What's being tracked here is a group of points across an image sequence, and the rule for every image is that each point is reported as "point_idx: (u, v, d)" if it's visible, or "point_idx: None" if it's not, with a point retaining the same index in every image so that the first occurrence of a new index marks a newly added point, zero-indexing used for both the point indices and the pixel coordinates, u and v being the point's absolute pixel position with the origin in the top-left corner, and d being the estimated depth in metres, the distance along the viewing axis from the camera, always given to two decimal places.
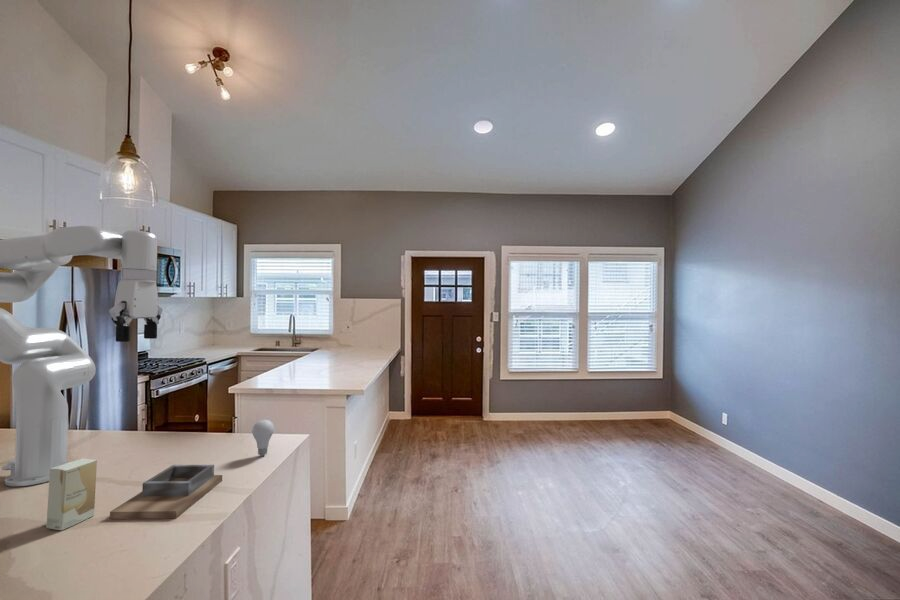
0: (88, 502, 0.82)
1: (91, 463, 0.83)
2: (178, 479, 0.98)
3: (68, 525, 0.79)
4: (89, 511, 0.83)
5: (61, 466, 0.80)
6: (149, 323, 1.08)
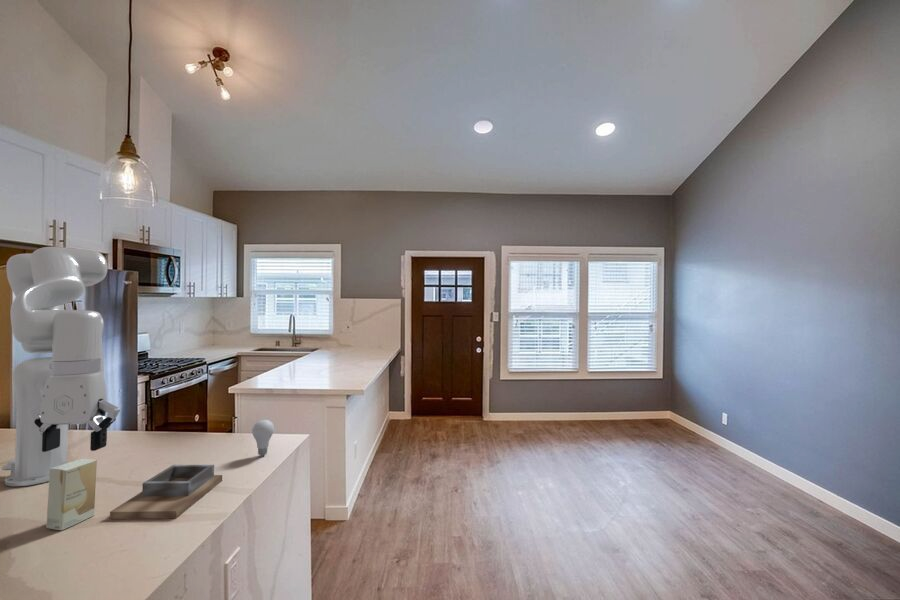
0: (88, 502, 0.82)
1: (91, 463, 0.83)
2: (178, 479, 0.98)
3: (68, 525, 0.79)
4: (89, 511, 0.83)
5: (61, 466, 0.80)
6: (51, 429, 0.81)
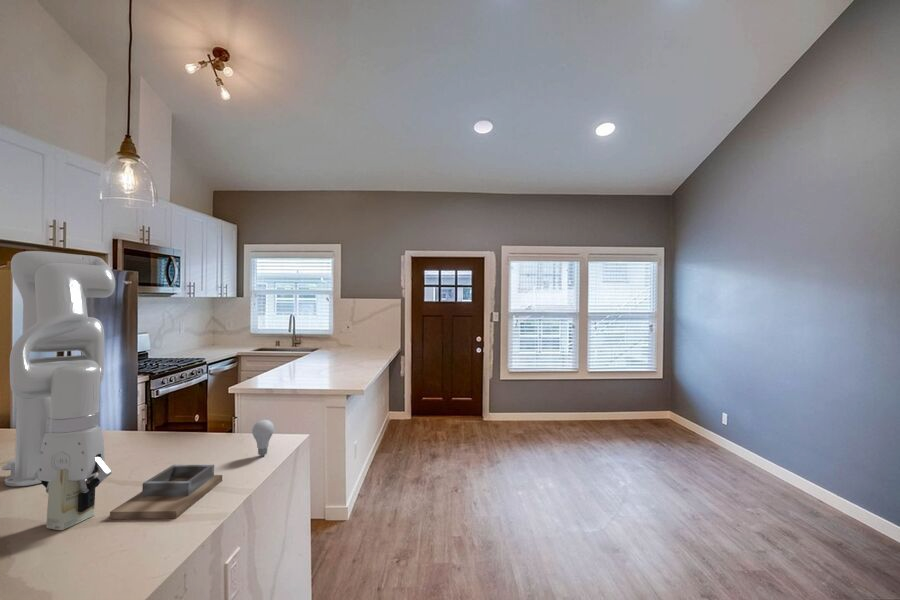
0: None
1: None
2: (178, 479, 0.98)
3: (68, 525, 0.79)
4: (89, 511, 0.83)
5: None
6: None
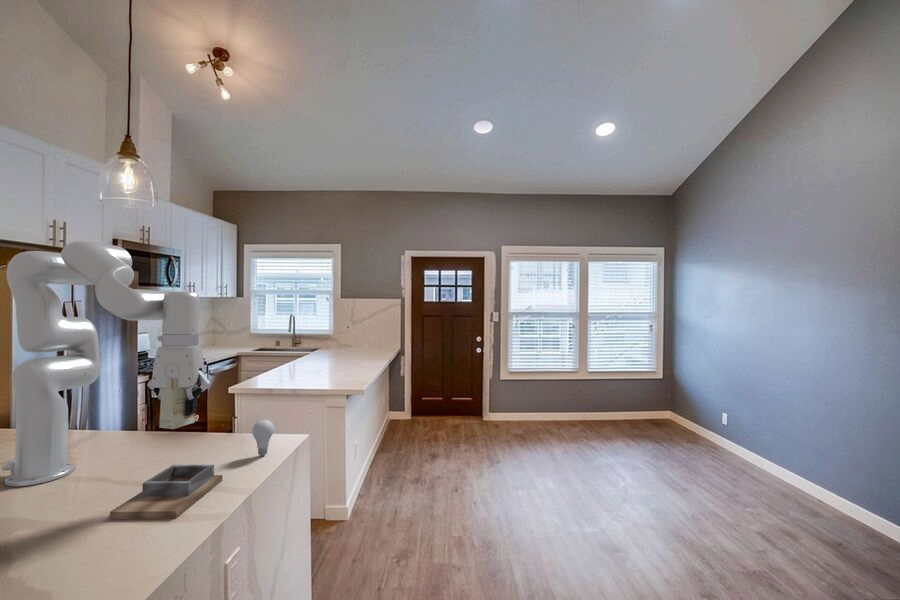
0: None
1: None
2: (178, 479, 0.98)
3: (177, 426, 0.92)
4: (191, 417, 0.96)
5: None
6: None
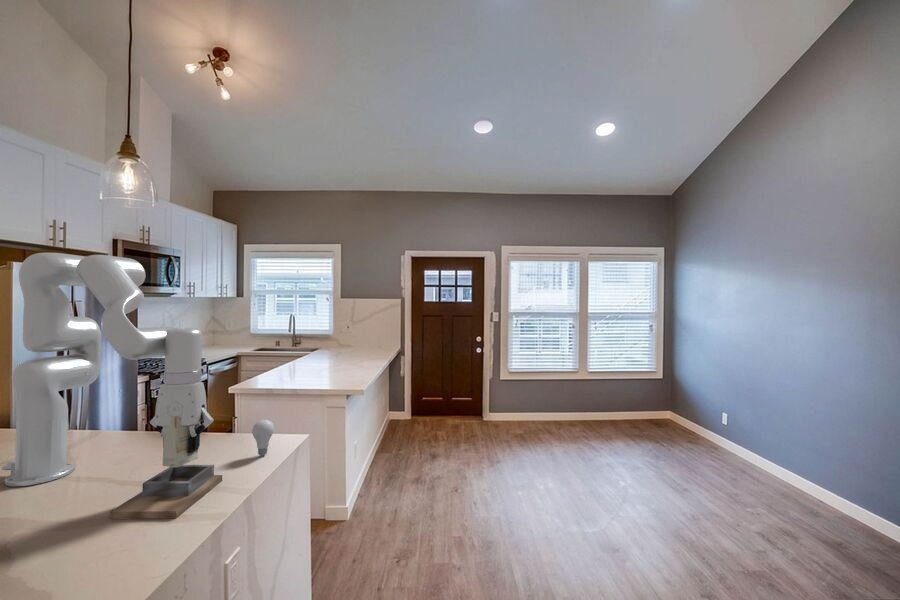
0: None
1: None
2: (178, 479, 0.98)
3: (181, 463, 0.92)
4: (194, 454, 0.96)
5: None
6: None
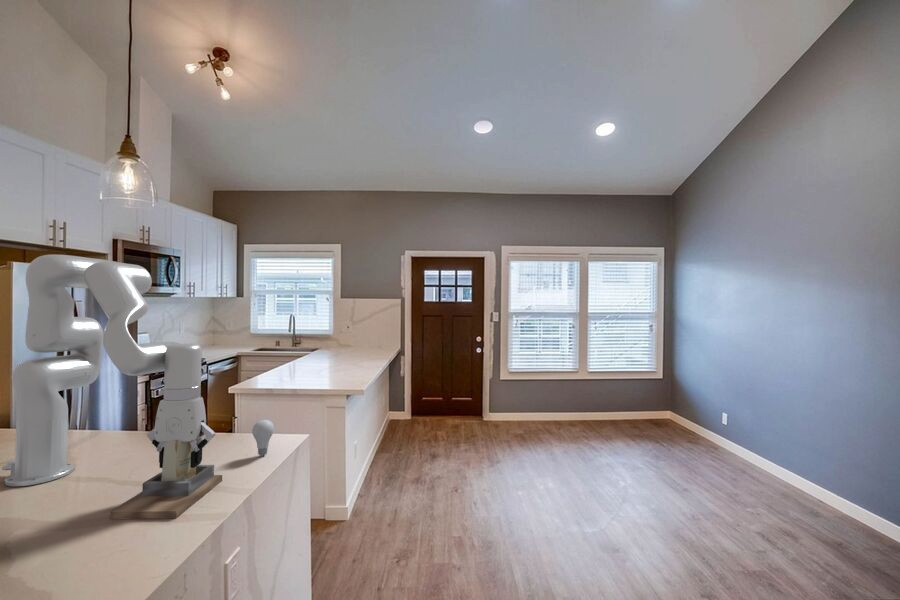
0: (192, 469, 0.96)
1: None
2: None
3: None
4: None
5: None
6: None
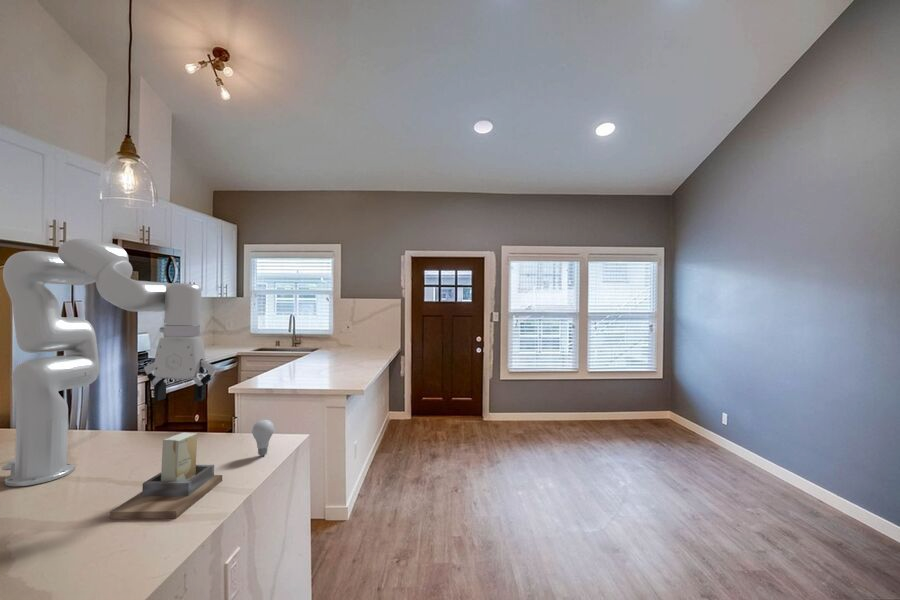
0: (192, 469, 0.96)
1: (194, 435, 0.97)
2: None
3: None
4: None
5: (171, 438, 0.94)
6: (160, 383, 0.96)
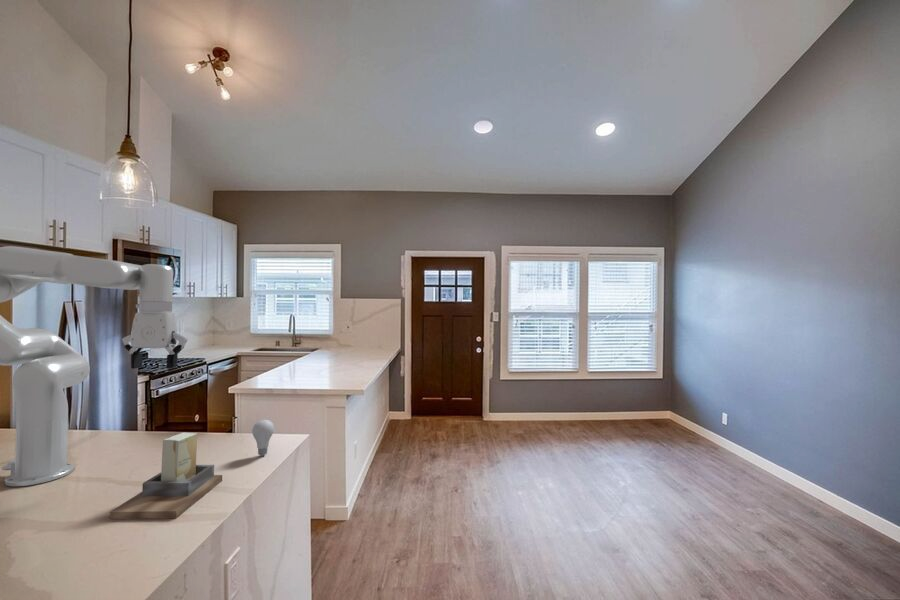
0: (192, 469, 0.96)
1: (194, 435, 0.97)
2: None
3: None
4: None
5: (171, 438, 0.94)
6: (137, 352, 1.08)
